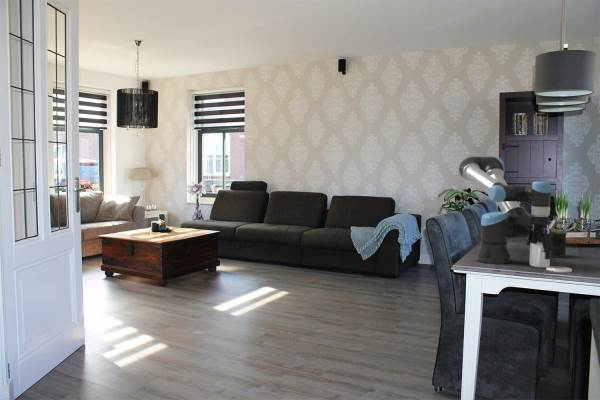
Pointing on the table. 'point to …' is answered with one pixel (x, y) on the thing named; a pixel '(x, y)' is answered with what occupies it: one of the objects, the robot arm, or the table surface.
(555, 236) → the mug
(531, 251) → the cup
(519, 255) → the table surface
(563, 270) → the saucer
